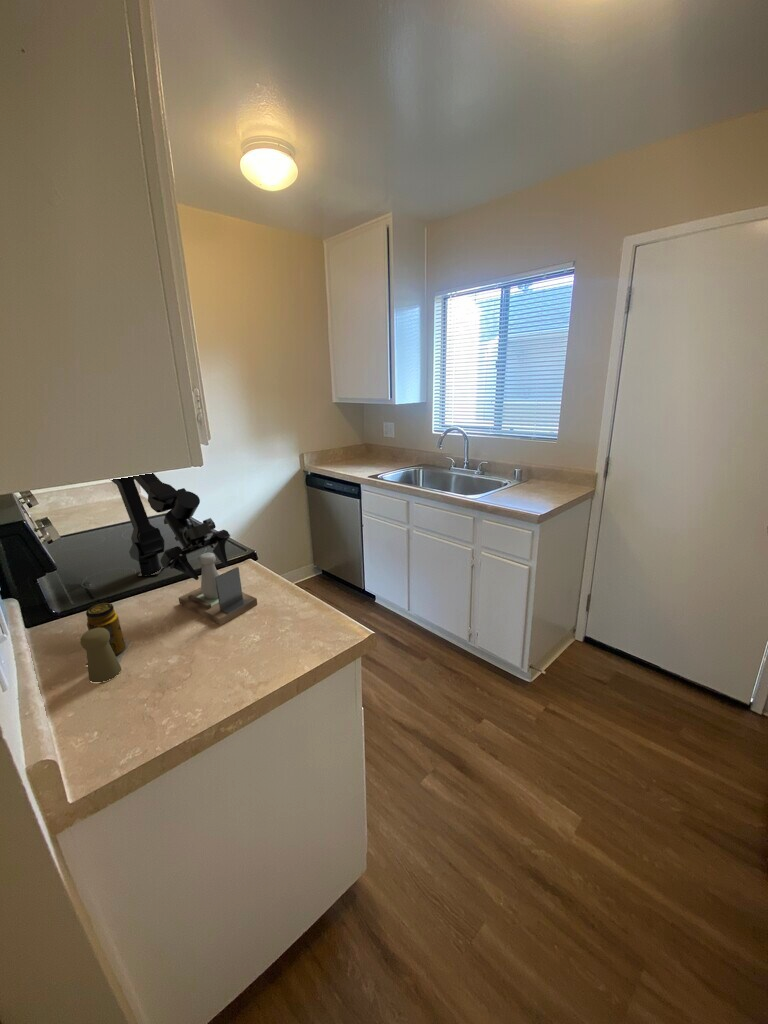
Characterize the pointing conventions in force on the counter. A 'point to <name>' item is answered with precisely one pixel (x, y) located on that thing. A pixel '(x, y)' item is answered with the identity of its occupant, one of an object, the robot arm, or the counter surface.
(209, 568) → the salt shaker
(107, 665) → the cork
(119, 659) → the condiment
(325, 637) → the counter surface
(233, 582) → the bookend
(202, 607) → the wooden card stand
